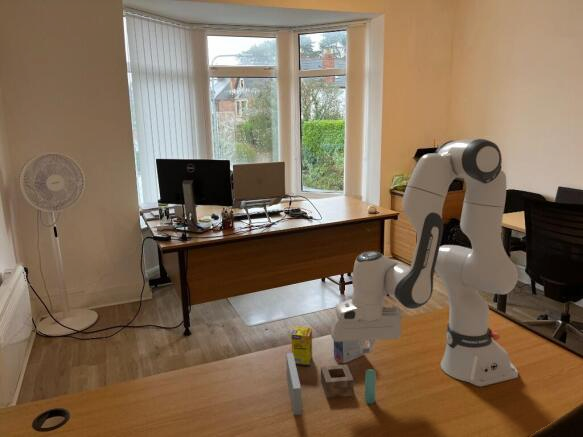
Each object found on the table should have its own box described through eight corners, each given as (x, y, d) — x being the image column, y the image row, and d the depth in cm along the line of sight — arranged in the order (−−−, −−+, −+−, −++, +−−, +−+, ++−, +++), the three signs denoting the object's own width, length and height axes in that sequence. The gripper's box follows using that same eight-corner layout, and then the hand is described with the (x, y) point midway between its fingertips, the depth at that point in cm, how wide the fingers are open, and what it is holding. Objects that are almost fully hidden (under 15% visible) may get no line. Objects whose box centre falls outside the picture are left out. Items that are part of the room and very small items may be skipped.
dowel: (373, 397, 124) (374, 368, 122) (376, 403, 121) (377, 374, 119) (363, 398, 123) (364, 369, 121) (366, 404, 121) (367, 375, 119)
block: (346, 379, 132) (346, 364, 131) (353, 395, 125) (353, 379, 123) (320, 381, 131) (320, 366, 130) (326, 397, 124) (326, 382, 123)
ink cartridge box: (354, 348, 150) (354, 309, 147) (365, 354, 146) (366, 315, 143) (332, 357, 145) (332, 317, 142) (343, 364, 140) (343, 323, 137)
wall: (293, 376, 134) (292, 352, 133) (301, 414, 117) (300, 388, 115) (286, 376, 134) (286, 353, 132) (293, 414, 117) (293, 388, 115)
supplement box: (309, 367, 139) (309, 336, 137) (291, 365, 140) (291, 334, 138) (312, 357, 145) (312, 327, 142) (295, 355, 146) (294, 326, 144)
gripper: (398, 302, 128) (395, 345, 131) (330, 305, 125) (328, 348, 128) (406, 311, 122) (403, 356, 124) (334, 314, 119) (333, 359, 122)
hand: (364, 352), depth 126 cm, fingers closed
